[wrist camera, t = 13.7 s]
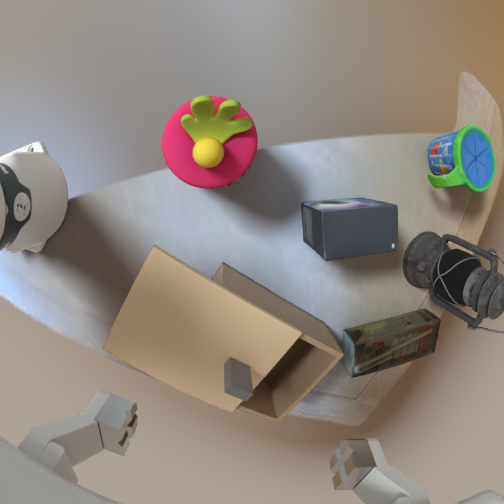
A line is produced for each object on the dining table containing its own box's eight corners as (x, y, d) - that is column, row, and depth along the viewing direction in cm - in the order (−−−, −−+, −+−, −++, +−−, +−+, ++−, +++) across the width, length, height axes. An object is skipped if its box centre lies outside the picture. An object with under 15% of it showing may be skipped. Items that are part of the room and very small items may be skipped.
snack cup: (453, 117, 39) (489, 113, 30) (471, 167, 42) (507, 170, 32) (401, 147, 40) (439, 144, 31) (423, 202, 43) (462, 211, 33)
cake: (257, 178, 40) (274, 180, 26) (184, 193, 40) (161, 203, 25) (243, 108, 37) (253, 74, 23) (171, 123, 37) (141, 97, 23)
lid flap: (104, 345, 34) (87, 372, 28) (155, 244, 31) (139, 261, 25) (231, 408, 38) (232, 439, 32) (300, 330, 36) (313, 358, 29)
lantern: (408, 224, 44) (553, 284, 15) (449, 228, 45) (576, 279, 16) (396, 291, 47) (511, 388, 18) (437, 289, 48) (544, 366, 19)
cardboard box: (173, 338, 46) (162, 375, 36) (223, 262, 43) (222, 287, 33) (269, 385, 50) (277, 422, 40) (323, 322, 47) (344, 354, 38)
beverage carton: (341, 326, 48) (355, 346, 42) (425, 305, 49) (444, 319, 43) (339, 361, 50) (351, 382, 44) (420, 338, 51) (436, 353, 45)
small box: (363, 194, 42) (400, 202, 32) (365, 235, 44) (399, 252, 34) (299, 200, 42) (322, 208, 31) (302, 243, 43) (325, 264, 33)
